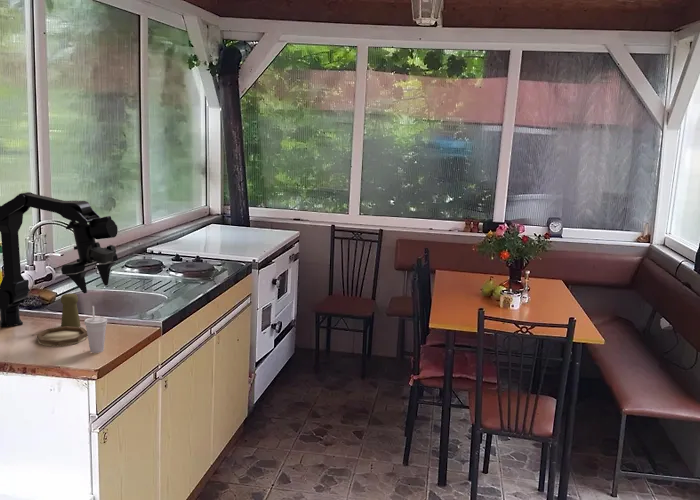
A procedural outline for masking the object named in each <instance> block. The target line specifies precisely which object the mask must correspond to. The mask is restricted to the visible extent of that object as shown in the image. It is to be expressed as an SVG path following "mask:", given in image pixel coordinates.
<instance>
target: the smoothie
mask: <svg viewBox="0 0 700 500" xmlns="http://www.w3.org/2000/svg"><path fill="white" fill-rule="evenodd" d="M91 307H92V316H91V317H88V318H86V319H84V322H83V324H84V325H85V330H86V331H87V335H88V336H87V339H88V344H89V350H90V351H89V352H90V353H91V352H92V353H91V354H100V353H103V352H104V350H105V339H106V329H107V324H108V318H107V317H103V316H96V315H95V314H96V313H95V305H92V306H91ZM99 352H100V353H99Z"/></svg>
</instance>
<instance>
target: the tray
mask: <svg viewBox="0 0 700 500" xmlns="http://www.w3.org/2000/svg"><path fill="white" fill-rule="evenodd" d="M36 339H37V342H38V343H39V345H42V346H46V347H64V346H70V345H71V346H72V345H76V344H78V343H81V342H83V341H85V340H86V339H88V335H87V330H86V328H84V327H82V326H80V327H72V326H64V327H61V326H58V327H57V326H56V327H52V328H47V329H45V330H42V331H41V332H38V333H37V334H36Z"/></svg>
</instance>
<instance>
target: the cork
mask: <svg viewBox="0 0 700 500" xmlns="http://www.w3.org/2000/svg"><path fill="white" fill-rule="evenodd" d="M78 301H79V297H78V295H77V294H76V293H65V294H63V295H61V298H60V302H61V304H62V311H61V320H60V321H61V322H60V327H64V326H72V327H82V326H81V320H80V315H79V310H78Z"/></svg>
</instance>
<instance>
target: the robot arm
mask: <svg viewBox="0 0 700 500" xmlns="http://www.w3.org/2000/svg"><path fill="white" fill-rule="evenodd" d="M30 208H33V209H38V210H41V211H42V210H43V211H46V212H51V213H53V214H54V213H56V214H58V215H60V216H61V217H62V218H64V219H66V220H69V223H68V224H67V226H65V229H66V230H71V229H72V232H73V237H74V242H75V244H76V245H74V246H73V250H74V251H75V250H77V255H78V259H76V261H75V262H69V263H65V264H63V265H61V269H60V270H61V274H62V275H65V276H66V277H69V279H71V280H72V281H73V283H74V284H75V285H76V286H77V287H78V289H79V290H80V291H81V292H82V293H83V294H87V293H88V289H87V284H86V274H87V271H85V269H86V268H87V267H88V268H89V267H92V266H94V265H95V267H96V269H97V271H98V274H99V275H100V278H101V282H102V284H103V285H104V286H105V287H106V286H109V279H110V274H111V273H110V272H111V268H112V267H113V266H114V265H115V264H116V262H117V261H119V259H118V255H117V250H116V246H115V245H113V244H110V245H107V246H106V247H105V246H104V247H101V243H99V242H96V240H106V239H114V238H115V237H117V236H118V232H119V230H118V229H119V228H118V225H117V223H116V221H114V220H113V219H112V217H111V215H107V216H103V217H101V216H100V215H99V214H98V213H97V212H96V211H95V210H94V208H92V206H91V204H90V203H89V202H88V201H86V200H64V199H63V200H62V199H59V198H58V199H57V198H53V197H48V196H44V195H41V194H35V193H33V192H30V191H28V192H21V193H19V194H17V195H16V196H15V197H14V198H12V199H10V200H8V201H6V202H5V203H3V204H2V205H0V238H1V239H0V240H1V251H2V252H1V253H2V267H3V277H2V280H1V282H0V328H6V327H14V326H21V325H23V324H24V323H23V321H22V320H21V317H20V316H21V314H20V305H22V304H24V303H25V300H26V298H27V297H28V295H29V292H30V291H31V290H30V288H29V286H30V282H29V281H30V280H29V279H25V278H24V277H23V276H22V273H21V272H22V267H21V254H20V241H19V240H20V238H19V231H20V229H21V227H22V225H23V219H24V214H26V213H27V212H28V211H29V209H30Z"/></svg>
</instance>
